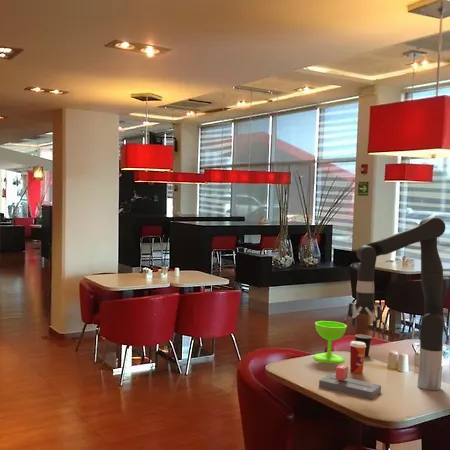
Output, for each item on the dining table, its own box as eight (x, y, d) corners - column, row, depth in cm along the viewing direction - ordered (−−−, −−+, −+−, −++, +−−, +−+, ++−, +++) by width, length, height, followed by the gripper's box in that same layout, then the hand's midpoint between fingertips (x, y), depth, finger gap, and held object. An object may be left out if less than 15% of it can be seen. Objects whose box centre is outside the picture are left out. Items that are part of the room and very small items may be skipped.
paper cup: (360, 375, 259) (362, 345, 259) (345, 371, 264) (347, 342, 263) (367, 372, 265) (369, 342, 265) (352, 368, 270) (354, 339, 269)
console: (380, 392, 236) (381, 385, 236) (371, 399, 226) (372, 392, 226) (329, 380, 248) (330, 373, 248) (318, 387, 238) (319, 379, 238)
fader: (347, 379, 240) (348, 366, 240) (343, 381, 236) (343, 368, 236) (339, 377, 242) (340, 364, 242) (335, 380, 238) (336, 367, 238)
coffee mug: (358, 351, 303) (359, 333, 303) (373, 355, 298) (374, 336, 298) (348, 355, 294) (349, 336, 294) (363, 359, 289) (364, 340, 289)
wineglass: (342, 365, 275) (344, 329, 274) (310, 360, 280) (312, 325, 279) (346, 357, 290) (348, 323, 289) (315, 353, 295) (317, 319, 294)
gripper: (383, 291, 245) (383, 328, 245) (352, 288, 252) (351, 324, 252) (379, 293, 238) (378, 331, 238) (346, 290, 245) (346, 327, 246)
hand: (364, 327), depth 245 cm, fingers open, 8 cm apart
